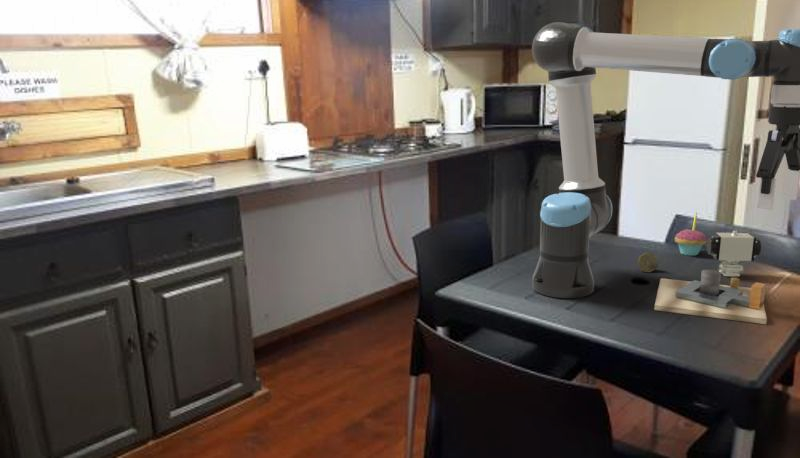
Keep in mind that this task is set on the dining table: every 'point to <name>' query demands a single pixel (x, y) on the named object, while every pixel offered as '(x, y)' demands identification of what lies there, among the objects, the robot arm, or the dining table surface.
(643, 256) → the lime
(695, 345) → the dining table surface
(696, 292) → the flange plate
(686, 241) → the cupcake
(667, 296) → the post board
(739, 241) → the pneumatic valve
